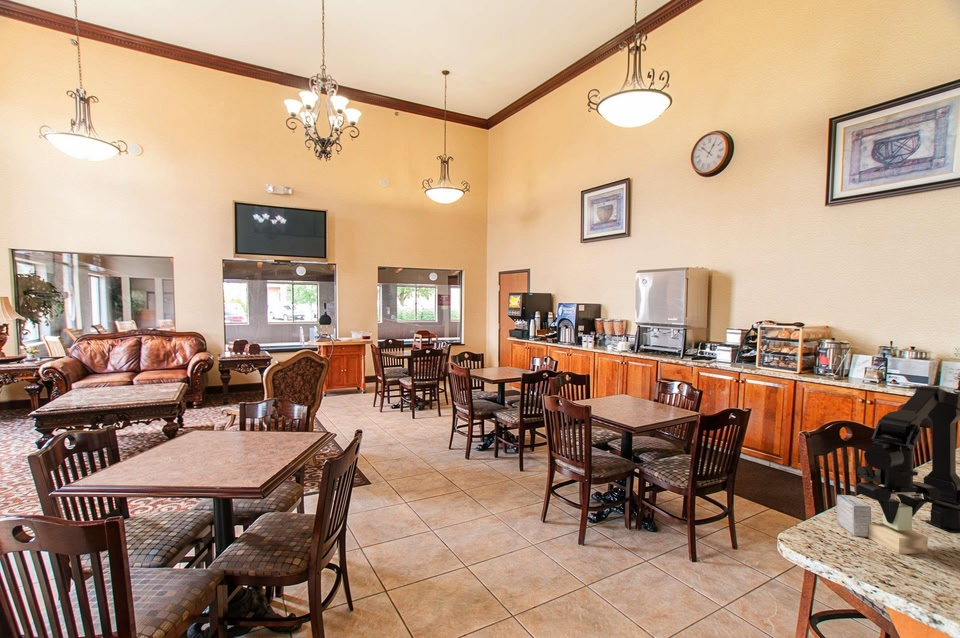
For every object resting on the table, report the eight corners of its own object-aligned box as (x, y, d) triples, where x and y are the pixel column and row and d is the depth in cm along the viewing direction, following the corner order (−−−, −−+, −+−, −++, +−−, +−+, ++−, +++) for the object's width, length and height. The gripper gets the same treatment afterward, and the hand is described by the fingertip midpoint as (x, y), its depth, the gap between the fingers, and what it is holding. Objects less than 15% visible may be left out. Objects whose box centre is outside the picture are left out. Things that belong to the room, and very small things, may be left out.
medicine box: (871, 538, 119) (872, 506, 119) (853, 536, 120) (853, 505, 120) (853, 524, 127) (853, 495, 127) (836, 523, 128) (836, 494, 128)
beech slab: (895, 537, 120) (895, 523, 120) (927, 552, 112) (927, 537, 112) (868, 538, 119) (868, 523, 119) (899, 553, 111) (899, 538, 111)
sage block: (896, 522, 118) (896, 500, 118) (911, 529, 114) (912, 507, 114) (882, 523, 117) (882, 501, 118) (898, 530, 114) (898, 507, 114)
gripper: (898, 454, 124) (898, 509, 124) (838, 455, 123) (837, 510, 123) (943, 468, 113) (942, 527, 113) (877, 468, 112) (876, 529, 112)
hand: (897, 522), depth 116 cm, fingers closed on sage block, 4 cm apart
